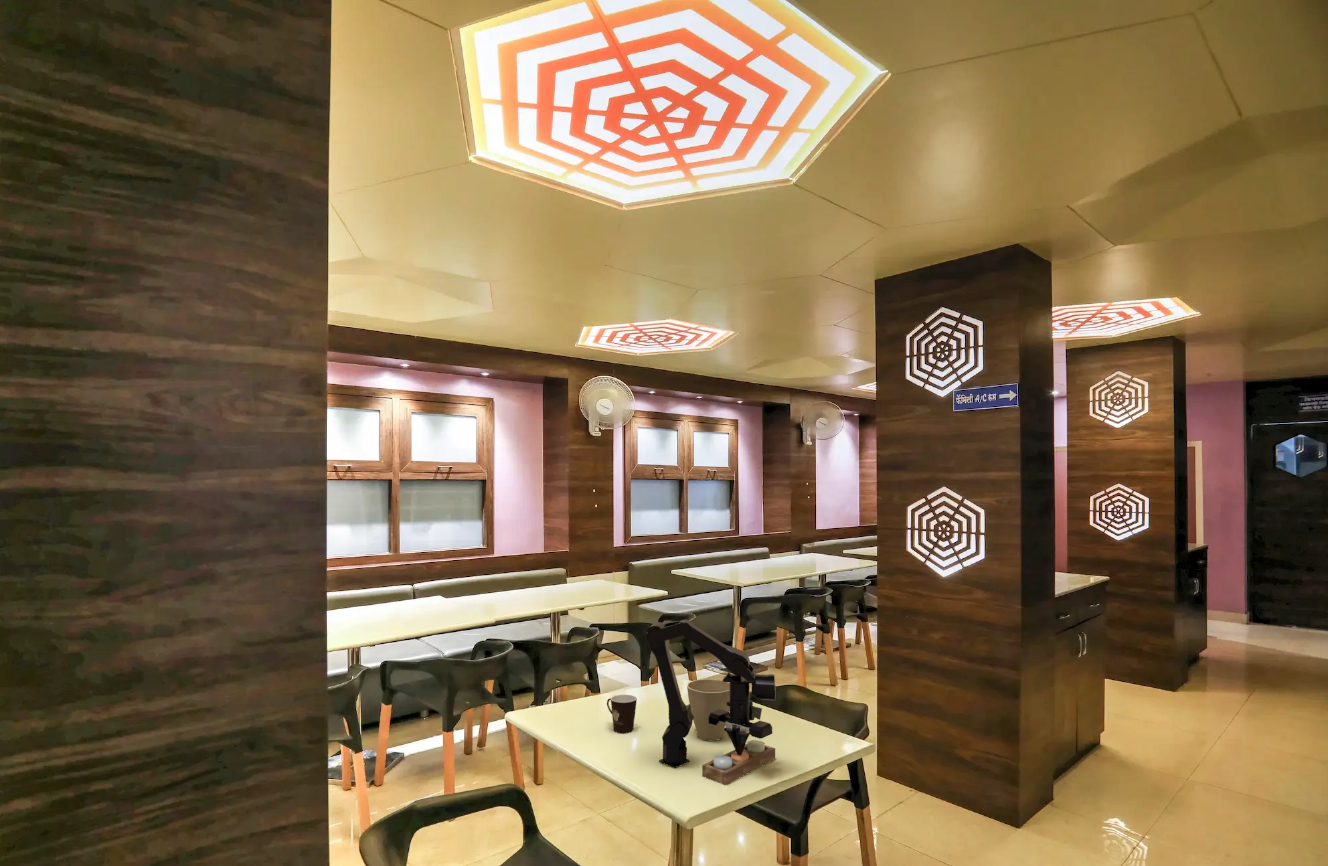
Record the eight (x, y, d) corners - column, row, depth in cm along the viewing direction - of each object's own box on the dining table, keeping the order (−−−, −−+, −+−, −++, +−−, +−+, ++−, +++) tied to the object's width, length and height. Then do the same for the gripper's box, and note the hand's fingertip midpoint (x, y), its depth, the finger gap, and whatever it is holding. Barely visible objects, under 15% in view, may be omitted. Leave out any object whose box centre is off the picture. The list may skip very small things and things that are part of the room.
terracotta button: (727, 765, 185) (727, 754, 185) (738, 760, 189) (737, 749, 189) (742, 770, 182) (741, 759, 182) (752, 765, 185) (752, 754, 186)
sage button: (744, 754, 191) (744, 743, 191) (753, 749, 195) (753, 738, 195) (758, 758, 188) (758, 747, 188) (768, 753, 191) (767, 743, 191)
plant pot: (678, 740, 206) (679, 687, 207) (698, 725, 219) (698, 676, 220) (722, 748, 199) (722, 694, 200) (740, 733, 212) (740, 682, 213)
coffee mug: (640, 732, 212) (640, 700, 213) (614, 736, 209) (615, 703, 210) (628, 721, 223) (629, 691, 224) (604, 724, 220) (604, 693, 221)
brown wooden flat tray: (702, 776, 179) (702, 765, 179) (752, 751, 197) (752, 741, 197) (725, 785, 174) (725, 773, 174) (775, 759, 191) (775, 748, 191)
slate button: (710, 770, 179) (709, 759, 179) (721, 765, 183) (721, 754, 183) (724, 775, 176) (724, 764, 176) (735, 770, 179) (735, 758, 180)
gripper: (782, 698, 187) (783, 755, 185) (730, 685, 199) (730, 739, 198) (760, 707, 178) (761, 767, 177) (707, 693, 191) (707, 749, 189)
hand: (739, 754), depth 185 cm, fingers closed, pressing on terracotta button
